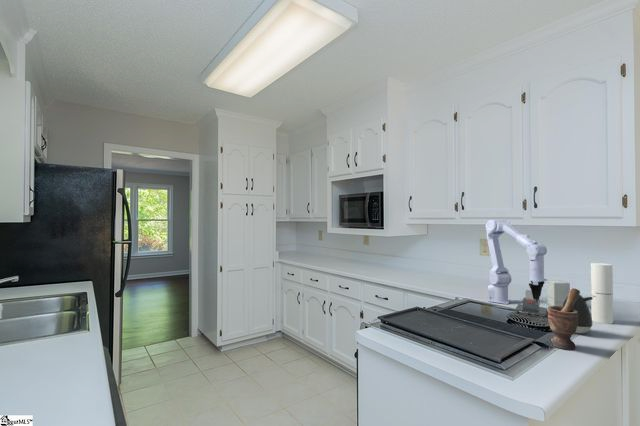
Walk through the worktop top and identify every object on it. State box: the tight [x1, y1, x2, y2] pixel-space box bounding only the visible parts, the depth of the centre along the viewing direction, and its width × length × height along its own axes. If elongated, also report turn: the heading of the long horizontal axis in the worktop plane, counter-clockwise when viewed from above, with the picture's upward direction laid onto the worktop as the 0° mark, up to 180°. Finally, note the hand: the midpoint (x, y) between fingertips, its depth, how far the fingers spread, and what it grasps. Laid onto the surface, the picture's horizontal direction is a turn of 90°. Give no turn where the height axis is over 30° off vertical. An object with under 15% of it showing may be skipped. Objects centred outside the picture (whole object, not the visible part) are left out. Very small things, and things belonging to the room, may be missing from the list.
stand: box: [514, 296, 548, 317], centre depth 157 cm, size 12×12×6 cm
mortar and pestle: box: [547, 287, 581, 351], centre depth 117 cm, size 12×9×20 cm
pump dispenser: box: [562, 294, 593, 335], centre depth 130 cm, size 10×10×15 cm
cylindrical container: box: [590, 262, 614, 325], centre depth 143 cm, size 7×7×25 cm
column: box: [525, 289, 537, 301], centre depth 157 cm, size 4×4×8 cm
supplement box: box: [546, 279, 571, 307], centre depth 167 cm, size 7×7×13 cm
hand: (536, 297), depth 156 cm, fingers open, 7 cm apart
